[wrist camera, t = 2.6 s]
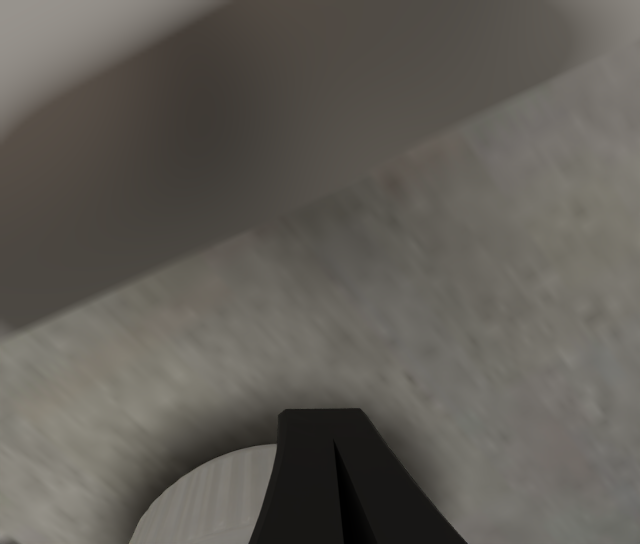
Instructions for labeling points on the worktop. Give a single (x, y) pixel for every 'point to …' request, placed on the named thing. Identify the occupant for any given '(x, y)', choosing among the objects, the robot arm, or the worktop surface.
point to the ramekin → (211, 501)
